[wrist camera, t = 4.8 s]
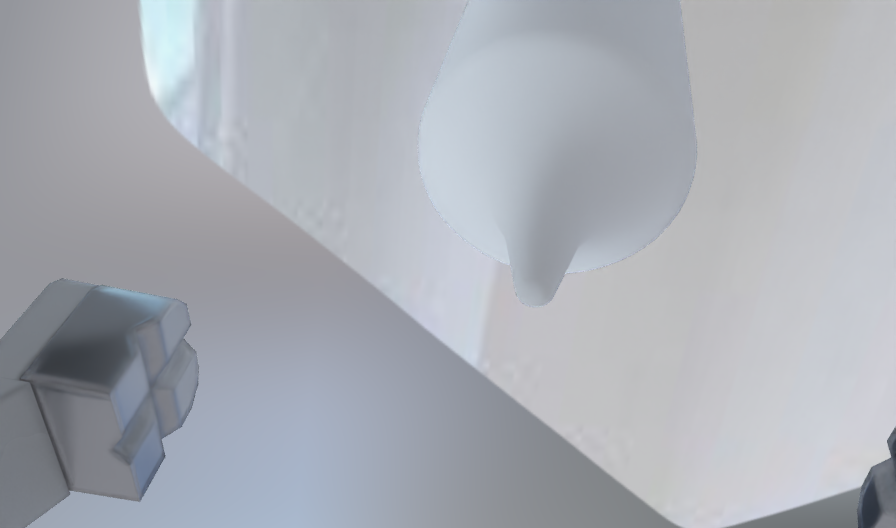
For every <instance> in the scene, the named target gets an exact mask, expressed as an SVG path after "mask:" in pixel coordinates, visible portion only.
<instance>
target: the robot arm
mask: <svg viewBox="0 0 896 528" xmlns="http://www.w3.org/2000/svg"><path fill="white" fill-rule="evenodd" d="M190 326H191V321H190V316H189V312H188V308H187V304H186V303H184V302H182V301H180V300H178V299H173V298H168V297H163V296H157V295H152V294H147V293H141V292H136V291H131V290H126V289H120V288H115V287H110V286H105V285H94V284H89V283H84V282H79V281H74V280H68V279H64V278H62V279H59V280H57V281H54V282H52V283H50V284H49V285H48V286H47V287H46V288H45V289H44V290H43V291H42V293H41V294H40V295H39V296H38V297H37V298H36V299H35V301H34V302H33V303H32V304H31V305H30V306H29V307H28V308H27V310H26V311H25V312H24V313H23V314H22V316H21V317H20V318H19V319H18V320H17V321H16V322H15V323H14V325H13V326H12V327H11V328H10V329H9V330H8V331H7V333H6V334H5V335H4V336H3V337H2V338H1V339H0V528H25V527H27V526H28V525H29V524H31V523H32V522H33V521H35V520H36V519H37V518H39V517H40V516H42V515H43V514H44V513H46V512H47V511H48V510H50V509H51V508H53V507H54V506H55V505H57V504H58V503H59V502H61V501H62V500H64V499H65V498H66V497H68V496H69V495H70V492H69V490H70V491H76V492H83V493H89V494H95V495H101V496H107V497H113V498H120V499H126V500H132V501H138V502H139V501H141V499H142V497H143V496H144V494H145V492H146V490H147V488H148V487H149V485H150V483H151V481H152V479H153V478H154V476H155V474H156V472H157V471H158V469H159V467H160V465H161V463H162V462H163V460H164V458H165V452H164V448H163V443H162V438H164V437H166V436H167V435H169V434H171V433H172V432H174V431H176V430H177V429H179V428H181V427H182V425H183V423H184V421H185V419H186V418H187V416H188V414H189V412H190V410H191V408H192V405H193V401H194V398H195V393H196V390H197V386H198V373H199V365H198V359H197V353H196V351H195V350H194V349H193V348H192V347H191V346H190V345H189V344H188V343H187V342H186V340H185V339H184V336H185V335H186V333H187V331H188V330H189V328H190ZM887 443H888V447H889V450H890V454H891V458H889V459H887V460H885V461H883V462H881V463H879V464H877V465H875V466H873V467H871V469H870V471H869V473H868V475H867V477H866V479H865V481H864V483H863V485H862V487H861V492H860V498H859V503H858V509H857V514H858V528H896V427H895V428H894V430H893V432H892V433H891V435H890V437H889V438H888V440H887Z"/></svg>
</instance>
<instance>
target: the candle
mask: <svg viewBox="0 0 896 528" xmlns="http://www.w3.org/2000/svg"><path fill="white" fill-rule="evenodd" d="M696 160H697V139H696V131H695V122H694V114H693V105H692V97H691V89H690V80H689V72H688V63H687V55H686V46H685V38H684V29H683V21H682V12H681V4H680V0H468V2H467V5H466V7H465V10H464V12H463V15H462V17H461V20H460V22H459V24H458V27H457V29H456V32H455V34H454V37H453V39H452V42H451V44H450V47H449V49H448V51H447V54H446V56H445V59H444V61H443V64H442V66H441V69H440V71H439V74H438V76H437V78H436V81H435V83H434V86H433V88H432V91H431V93H430V96H429V98H428V101H427V103H426V105H425V108H424V111H423V114H422V117H421V121H420V126H419V132H418V161H419V168H420V173H421V177H422V181H423V184H424V187H425V189H426V192H427V194H428V196H429V198H430V200H431V202H432V204H433V206H434V207H435V209H436V210H437V212H438V213H439V215H440V216H441V217H442V219H443V220H444V221H445V223H446V224H447V225H448V226H449V227H450V228H451V229H452V230H453V231H454V232H455V233H456V234H457V235H458V236H459V237H461V238H462V239H463V240H464V241H466V242H467V243H468V244H470V245H471V246H472V247H474V248H475V249H477V250H478V251H480V252H482V253H483V254H485V255H487V256H489V257H491V258H493V259H495V260H497V261H500V262H502V263H504V264H507V265H510V266H511V271H512V277H513V282H514V288H515V293H516V296H517V297H518V299H519V300H520V301H521V302H522V303H523V304H525V305H527V306H529V307H542V306H544V305H546V304H548V303H549V302H550V301H551V300H552V299H553V297H554V295H555V293H556V291H557V289H558V287H559V285H560V283H561V281H562V279H563V277H564V275H565V273H576V272H584V271H589V270H594V269H598V268H601V267H605V266H608V265H611V264H613V263H616V262H618V261H621V260H623V259H625V258H627V257H629V256H631V255H633V254H635V253H637V252H638V251H640V250H641V249H643V248H645V247H646V246H647V245H649V244H650V243H651V242H653V241H654V240H655V239H656V238H657V237H658V236H659V235H660V234H662V233H663V232H664V230H665V229H666V228H667V227H668V226H669V225H670V224H671V222H672V221H673V220H674V218H675V217H676V216H677V214H678V213H679V211H680V209H681V208H682V206H683V204H684V202H685V200H686V197H687V195H688V193H689V190H690V187H691V184H692V181H693V178H694V173H695V168H696Z"/></svg>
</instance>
